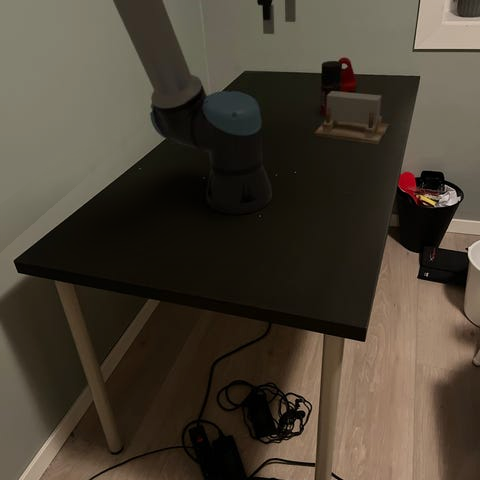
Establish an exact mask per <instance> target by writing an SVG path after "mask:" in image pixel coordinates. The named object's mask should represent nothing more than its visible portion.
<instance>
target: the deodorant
mask: <svg viewBox="0 0 480 480" xmlns="http://www.w3.org/2000/svg"><path fill="white" fill-rule="evenodd" d="M342 68H343V64H342V63H341V62H339V60H328V61H324V62H322V63H321V77H320V78H321V81H320V84H321V85H320V86H321V87H320V115H321V116H323V117H326V108H327V95H328V94H329V93H330V92H331V91H337V92H341V77H342Z"/></svg>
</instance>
